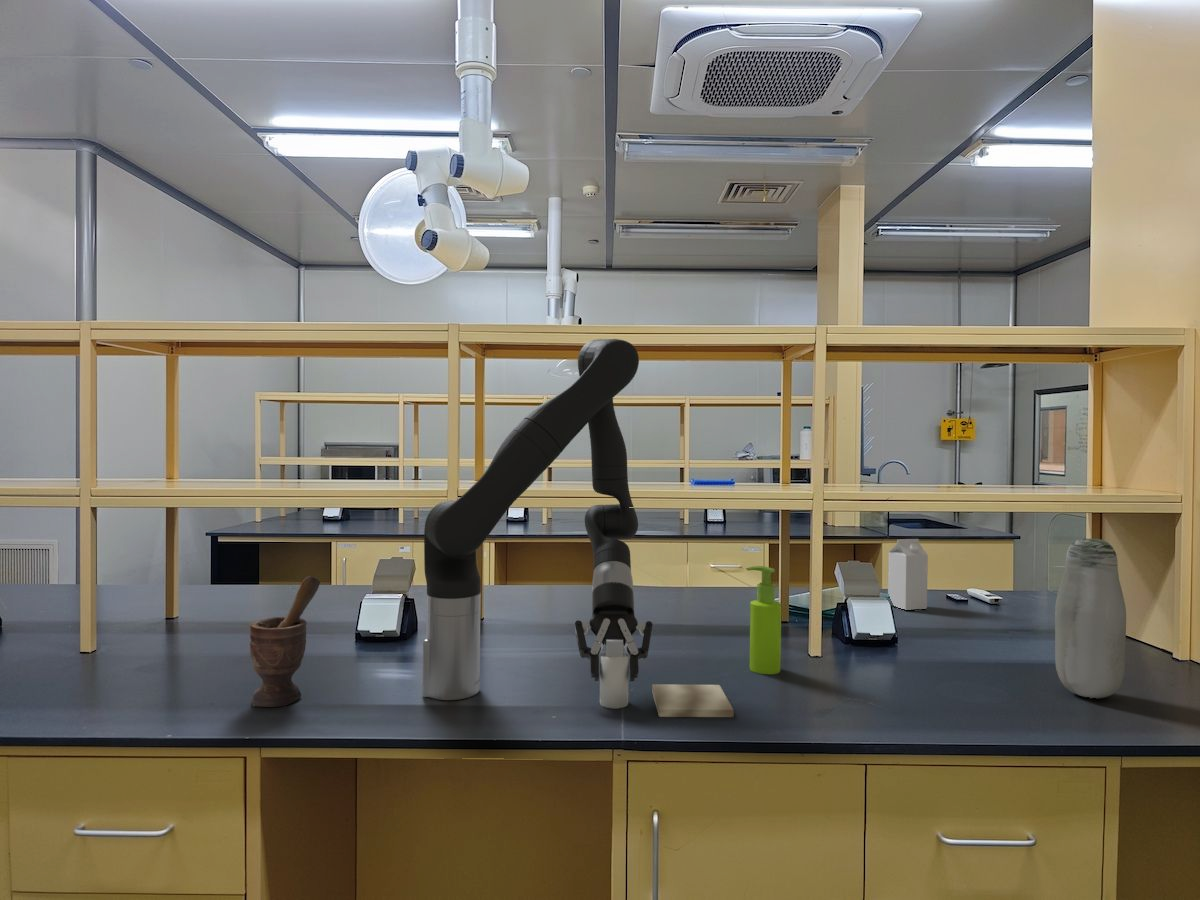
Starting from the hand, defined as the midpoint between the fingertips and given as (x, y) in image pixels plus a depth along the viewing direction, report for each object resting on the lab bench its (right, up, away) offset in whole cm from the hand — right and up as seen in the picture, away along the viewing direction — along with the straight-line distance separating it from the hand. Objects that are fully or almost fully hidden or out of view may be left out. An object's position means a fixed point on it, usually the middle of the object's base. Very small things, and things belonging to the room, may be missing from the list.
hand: (614, 678), depth 118 cm
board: (+13, -5, +2) cm, 14 cm away
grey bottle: (+85, -6, +9) cm, 85 cm away
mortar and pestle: (-56, -4, +2) cm, 56 cm away
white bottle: (0, -5, +2) cm, 5 cm away
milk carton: (+82, -6, +78) cm, 113 cm away
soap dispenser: (+29, -5, +21) cm, 37 cm away
